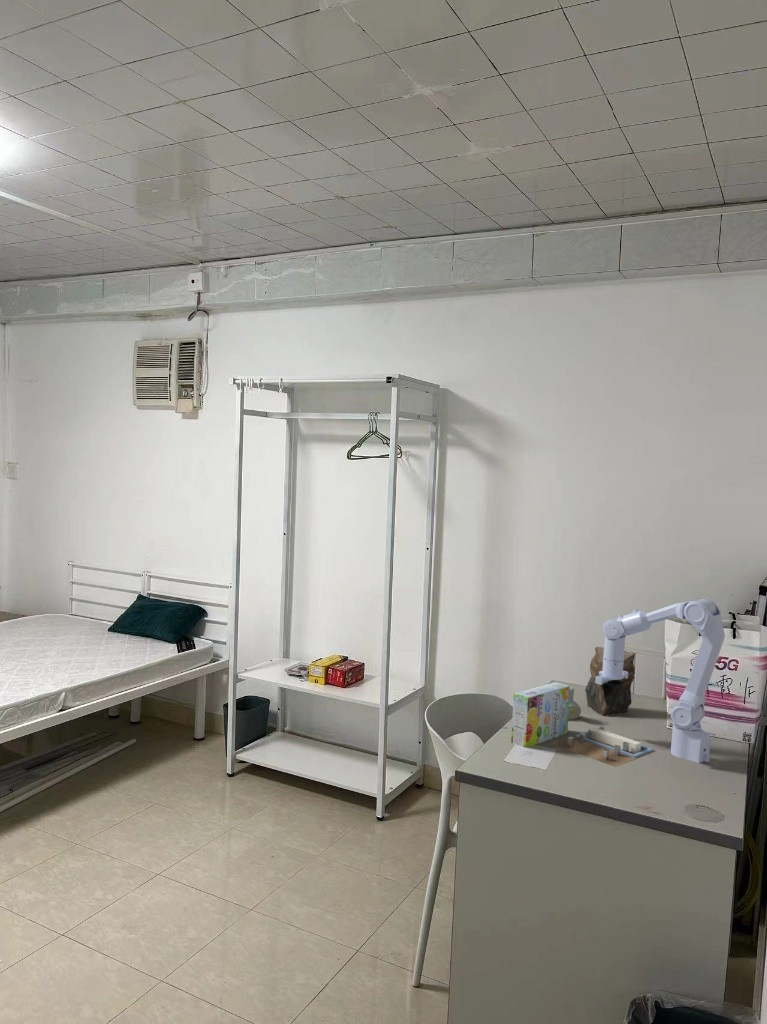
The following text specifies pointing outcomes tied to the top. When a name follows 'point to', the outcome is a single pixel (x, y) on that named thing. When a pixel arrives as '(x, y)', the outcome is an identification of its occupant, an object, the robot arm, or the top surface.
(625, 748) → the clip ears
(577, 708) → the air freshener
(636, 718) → the top surface
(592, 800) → the top surface
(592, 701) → the brown rock
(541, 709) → the snack box
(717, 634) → the robot arm
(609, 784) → the top surface
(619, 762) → the board
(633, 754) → the blue bezel
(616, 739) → the white rectangular bar
